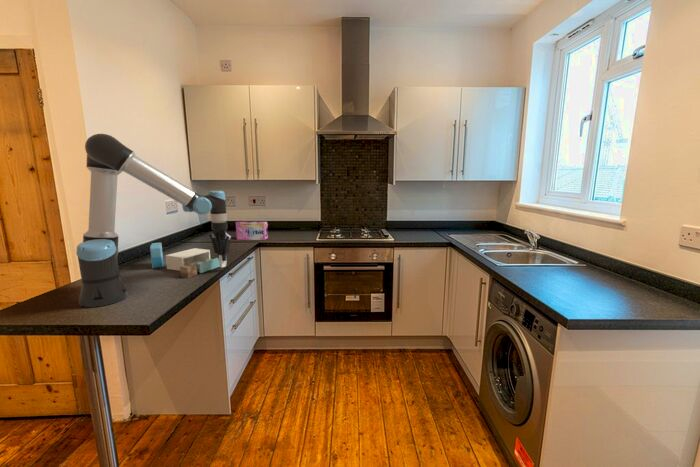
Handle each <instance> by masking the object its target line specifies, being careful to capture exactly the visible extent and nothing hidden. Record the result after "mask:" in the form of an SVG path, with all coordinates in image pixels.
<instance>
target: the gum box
mask: <svg viewBox="0 0 700 467" xmlns="http://www.w3.org/2000/svg"><path fill="white" fill-rule="evenodd" d="M268 226H269V223H268V221H266V220H257V221H256V220H251V221H250V220H238V221H236V222H235V231H236V232H235V234H236V240H239V241H240V240H242V241H243V240H246V241H247V240H248V241H249V240H250V241H251V240H254V241H255V240H256V241H257V240H258V241H261V240H262V241H265V240H267V239H268V238H269V233H268V232H269V229H268Z"/></svg>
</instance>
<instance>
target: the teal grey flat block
mask: <svg viewBox="0 0 700 467" xmlns="http://www.w3.org/2000/svg"><path fill="white" fill-rule="evenodd" d="M205 260H209V261H206V262H202V263H199V266H196V268H197V272H199V274H203V273H206V272H208V271H212V270H214V269H217V268H221V267H220V263H219V259H218V257H216V258H213V259H212V258H210V259H205ZM227 262H228V260H227V257H226V265H228V263H227ZM191 264H192V265H196V262H195V263H191Z"/></svg>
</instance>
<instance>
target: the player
mask: <svg viewBox="0 0 700 467" xmlns="http://www.w3.org/2000/svg"><path fill="white" fill-rule="evenodd" d="M164 256H165V263H166V269H167V270H174V271H179V272H181V271H180V267H181V266H184V265H187V264H191V263H195V262H197V261H200V260H205V259H211V250H210V249H205V248H196V247H195V248H194V247H193V248H190V249H187V250H181V251H177V252H174V253H169V254H166V255H164Z"/></svg>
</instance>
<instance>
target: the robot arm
mask: <svg viewBox="0 0 700 467" xmlns="http://www.w3.org/2000/svg"><path fill="white" fill-rule="evenodd" d="M84 149H85V153H86V166H85V167H86V168H87V170H88V171H89V172H90V184H89V185H90V187H89V209H88V211H89V212H88V228H87V229H88V230H87V231H86V232H84V233H83V236H82V237H83V238H82V242H80V243H78V245H77V246H76V252H75V254H76V256H77V259H78V265H79V273H80V279H81V288H80V292H79V296H78V304H79V306H80V307H82V306H84V307H83V308H95V307H96V308H98V307H103V306H108V305H111V304H114V303H118V302H121V301H124V300H125V299H126V298H128V296H129V295H128V289H127V288H126V286H125V284H124V282H123V281H122V280H121V277H120V270H119V261H118V254H119V234H118V233H117V232H116V231H115V228H116V227H115V225H116V210H117V209H116V208H117V206H116V205H117V193H118V192H117V189H118V176H119V175H121V174H122V173H123V172H124V173H126V174H127V175H129V176H131V177H133V178H135V179H136V180H138V181H140V182H142V183H144V184H146V185H147V186H149V187H151V188H153V189H154V190H156V191H158V192H159V193H161V194H163V195H165V196H166V197H169V198H170V199H172V200H174V201H175V202H177V203H179V204H181V206H182V211H183V212H185V213H186V212H187V213H193V212H194V213H196V214H198V215H207V214H209V213H210V222H211V223H210V224H211V230H212V234H209V235H208V236H209V238H210V240H211V245H212V248H213V251H214V254H216V255H217V258H218V259H219V263H220V267H219V268H226V267H227V264H226V258H227V254H229V253H230V248H231V247H230V246H231V239H232V238H233V236H232V235H230V234H229V233H228V231H227V230H228V229H229V228H228V226H229V225H228V214H227V202H226V201H227V200H226V194H225V191H223V190H209V191H208V194H207V195H206V194H205V195H201V194H199V193H198V192H195V191H194V190H192V189H191V188H189V187H188V186H186V185H185V184H182V183H181V182H180V181H178V180H177V179H174V178H173V177H171V176H169V175H168V174H167V173H165V172H163V171H162V170H160V169H158V168H157V167H155V166H153V165H152V164H150V163H149V162H147V161H145V160H143V159H142V158H140V157H138V156H137V155H136V154H135V151H134V150H132V149H130V148H129V147H128V146H126V145H125V144H123V143H122V142H121V141H120V140H118V139H117V138H116V137H114V136H113V135H110V134H107V133H106V134H105V133H95V134H93V135H91V136H89V137H88V138H87V139H86V141H85V144H84ZM97 306H98V307H97Z"/></svg>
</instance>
